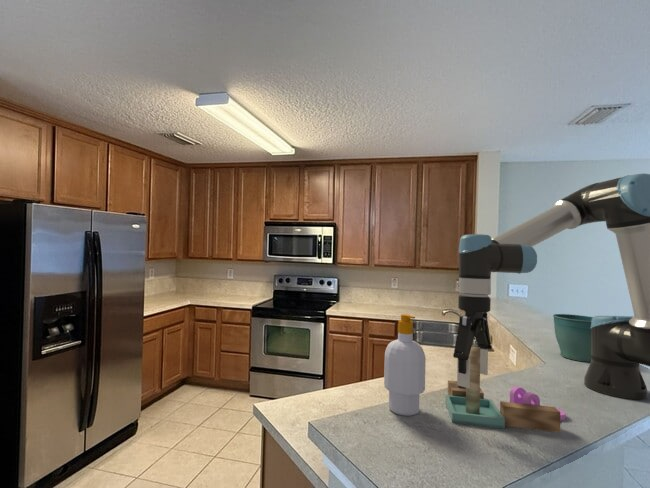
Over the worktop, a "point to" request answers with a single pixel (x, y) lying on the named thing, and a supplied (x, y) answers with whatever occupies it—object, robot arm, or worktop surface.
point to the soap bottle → (404, 370)
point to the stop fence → (530, 416)
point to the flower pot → (573, 336)
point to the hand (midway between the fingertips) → (473, 379)
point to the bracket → (528, 399)
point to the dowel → (474, 383)
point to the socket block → (459, 390)
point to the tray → (486, 417)
